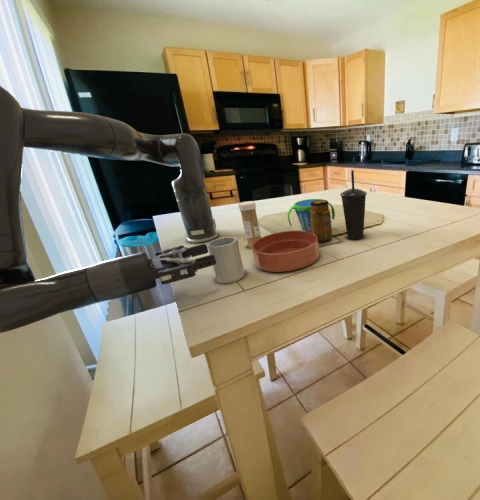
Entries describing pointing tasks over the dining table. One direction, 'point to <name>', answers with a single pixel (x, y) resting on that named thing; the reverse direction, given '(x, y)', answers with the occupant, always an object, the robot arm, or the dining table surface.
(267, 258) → the bowl
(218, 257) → the white cup
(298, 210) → the snack cup
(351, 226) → the drinking cup
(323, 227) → the condiment
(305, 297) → the dining table surface
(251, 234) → the sprinkles bottle
